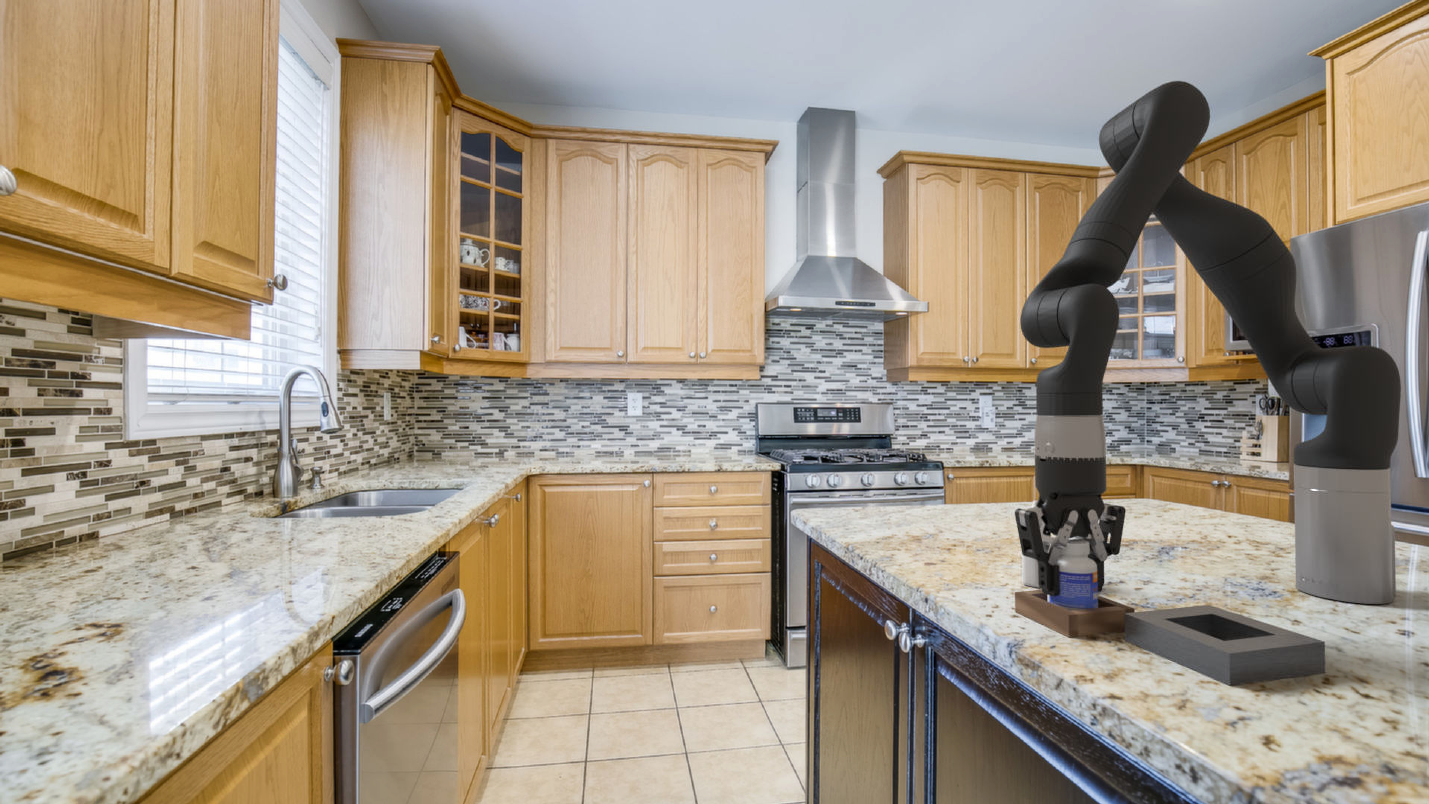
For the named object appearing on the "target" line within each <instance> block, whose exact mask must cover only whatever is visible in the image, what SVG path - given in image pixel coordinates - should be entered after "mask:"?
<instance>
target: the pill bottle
mask: <svg viewBox="0 0 1429 804" xmlns="http://www.w3.org/2000/svg"><path fill="white" fill-rule="evenodd" d="M1088 554H1090V547H1089V542H1088V541H1087V540H1084V539H1079V538H1075V537H1073V538H1069V540H1068V543H1067V546H1066V547H1065V548H1063V549H1062V551H1061V554H1060V557H1059V560H1058V562H1057V564H1056V565H1059V589H1060V593H1059V595H1058V596H1050V595H1048V594H1047V602H1050V603H1052V604H1054V605H1057V606H1059V607H1062V608H1064V609H1066V610H1069V611H1073V610H1083V609H1093V608H1098V595H1099V592H1098V582H1097V565H1096V563H1095V562H1094V561H1093V560H1092V559H1090V558H1088Z"/></svg>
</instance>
